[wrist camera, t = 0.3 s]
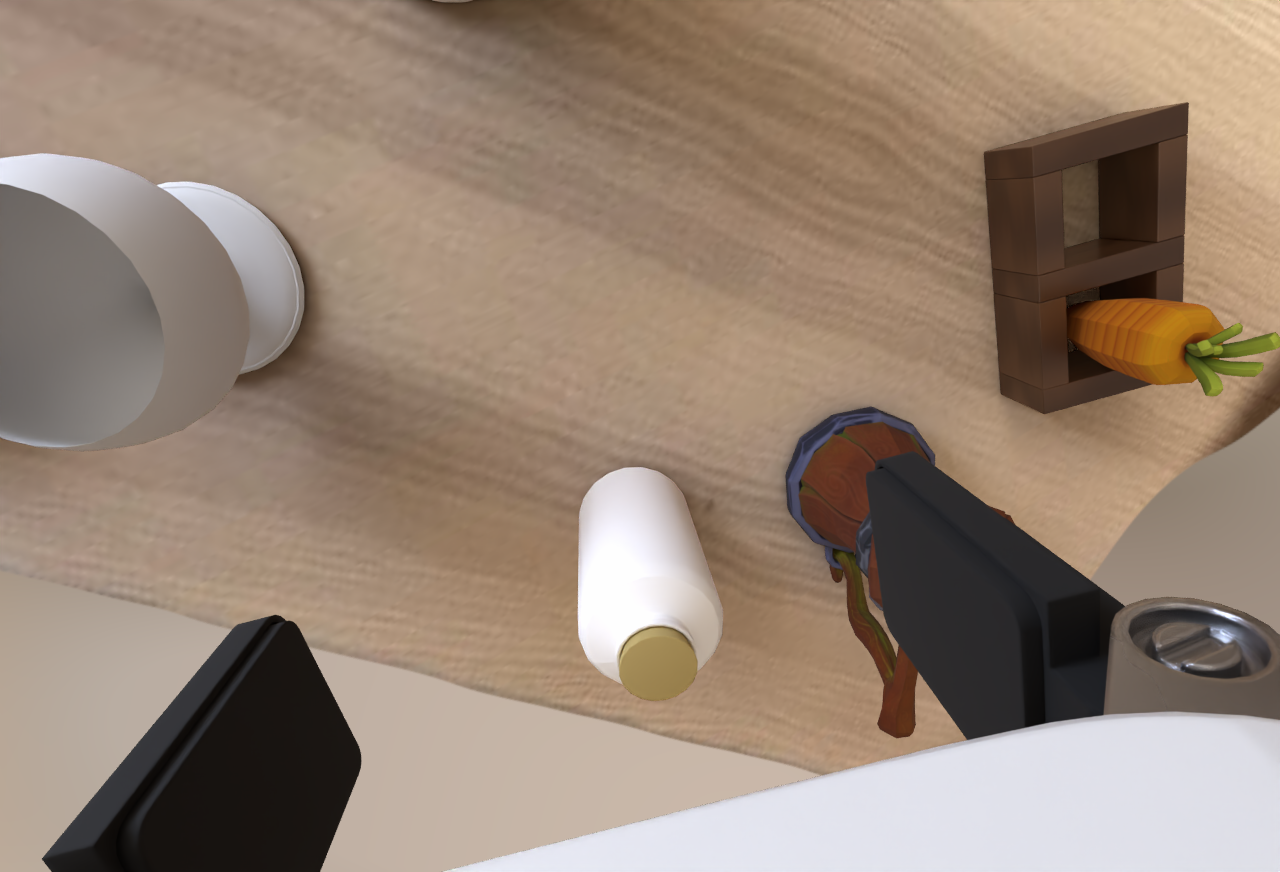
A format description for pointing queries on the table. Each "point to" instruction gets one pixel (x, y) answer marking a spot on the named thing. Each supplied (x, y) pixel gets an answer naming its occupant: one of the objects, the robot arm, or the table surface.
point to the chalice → (130, 301)
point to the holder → (1082, 245)
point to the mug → (856, 531)
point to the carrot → (1163, 341)
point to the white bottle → (644, 585)
